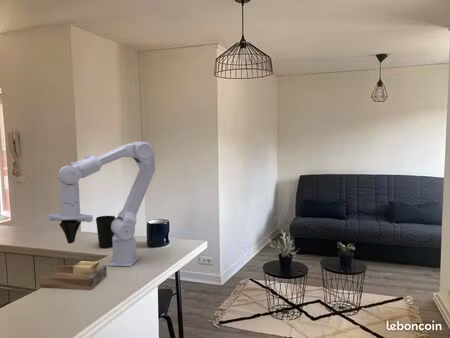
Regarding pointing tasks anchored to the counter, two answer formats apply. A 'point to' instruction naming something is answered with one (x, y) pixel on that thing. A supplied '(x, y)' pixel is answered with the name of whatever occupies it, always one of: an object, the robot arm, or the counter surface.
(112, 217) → the cup
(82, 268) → the box
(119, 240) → the robot arm
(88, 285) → the bay
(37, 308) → the counter surface
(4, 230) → the counter surface
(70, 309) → the counter surface
